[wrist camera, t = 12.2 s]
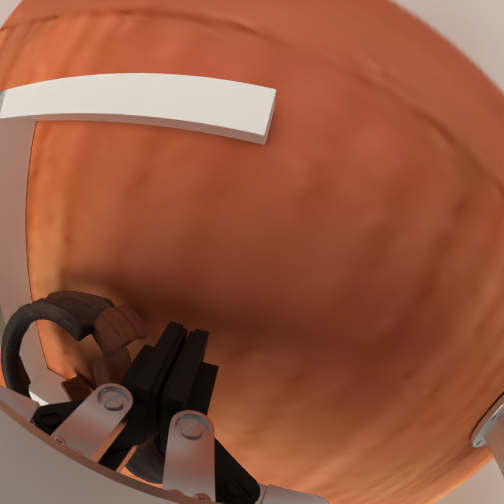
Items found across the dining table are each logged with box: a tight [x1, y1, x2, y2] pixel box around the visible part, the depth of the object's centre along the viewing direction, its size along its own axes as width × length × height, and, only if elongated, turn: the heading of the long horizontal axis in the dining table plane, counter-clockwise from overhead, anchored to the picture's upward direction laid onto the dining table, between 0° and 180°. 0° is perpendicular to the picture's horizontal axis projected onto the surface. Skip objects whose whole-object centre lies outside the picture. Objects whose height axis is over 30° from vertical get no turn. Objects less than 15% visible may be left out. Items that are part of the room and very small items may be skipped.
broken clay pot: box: [1, 291, 166, 484], centre depth 12 cm, size 12×9×8 cm
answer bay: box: [0, 73, 276, 406], centre depth 11 cm, size 14×21×4 cm
